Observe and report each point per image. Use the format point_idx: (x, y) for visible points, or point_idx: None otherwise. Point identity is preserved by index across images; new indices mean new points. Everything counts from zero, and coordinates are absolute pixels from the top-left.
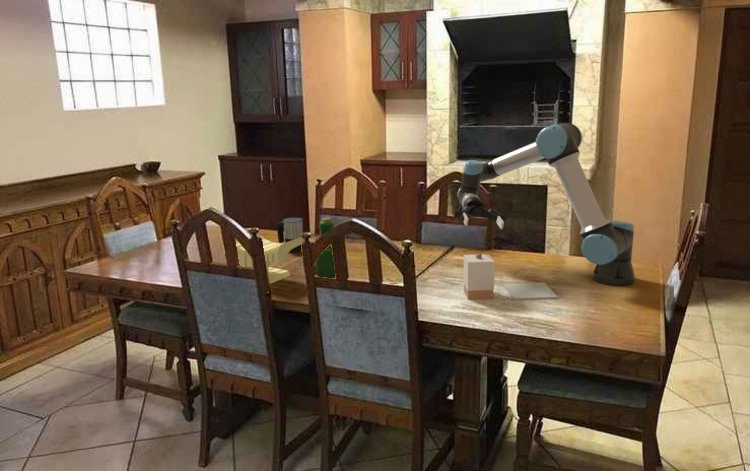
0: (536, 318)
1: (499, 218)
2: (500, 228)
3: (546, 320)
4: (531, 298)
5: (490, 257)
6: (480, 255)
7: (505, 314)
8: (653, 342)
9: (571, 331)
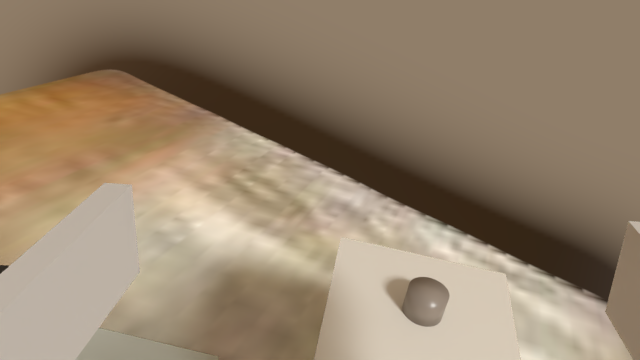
0: (239, 218)
1: (53, 259)
2: (136, 275)
3: (218, 202)
4: (129, 338)
5: (336, 296)
6: (420, 279)
7: (325, 267)
8: (70, 82)
9: (201, 150)
